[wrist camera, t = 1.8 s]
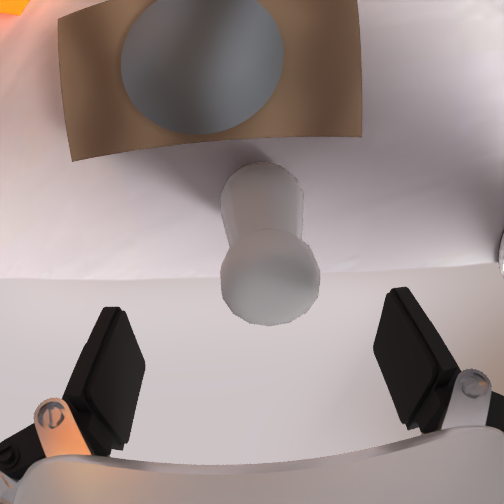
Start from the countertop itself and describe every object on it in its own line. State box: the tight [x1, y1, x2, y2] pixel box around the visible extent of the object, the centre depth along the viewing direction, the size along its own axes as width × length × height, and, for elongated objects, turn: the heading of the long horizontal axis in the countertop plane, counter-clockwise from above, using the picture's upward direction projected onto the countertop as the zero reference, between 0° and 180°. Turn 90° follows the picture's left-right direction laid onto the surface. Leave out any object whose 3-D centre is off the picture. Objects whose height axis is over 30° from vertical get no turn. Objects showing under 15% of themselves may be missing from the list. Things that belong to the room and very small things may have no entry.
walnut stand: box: [58, 0, 362, 162], centre depth 17 cm, size 18×10×6 cm, turn 93°
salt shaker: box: [220, 162, 320, 326], centre depth 18 cm, size 6×6×13 cm
